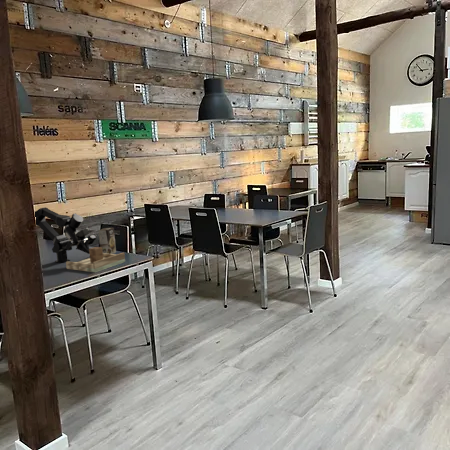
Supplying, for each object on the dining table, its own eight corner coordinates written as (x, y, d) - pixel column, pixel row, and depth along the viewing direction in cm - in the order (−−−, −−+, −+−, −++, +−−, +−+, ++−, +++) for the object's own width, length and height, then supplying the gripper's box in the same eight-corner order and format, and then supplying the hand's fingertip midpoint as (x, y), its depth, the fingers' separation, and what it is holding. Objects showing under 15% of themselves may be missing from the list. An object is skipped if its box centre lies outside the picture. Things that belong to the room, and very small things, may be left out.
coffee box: (110, 255, 279) (107, 230, 277) (100, 255, 281) (97, 230, 278) (116, 252, 288) (114, 227, 286) (107, 252, 290) (104, 227, 287)
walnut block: (90, 262, 256) (89, 248, 254) (97, 260, 260) (95, 246, 259) (96, 263, 253) (95, 249, 252) (103, 261, 257) (102, 247, 256)
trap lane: (66, 268, 253) (65, 259, 252) (97, 258, 273) (96, 250, 272) (95, 272, 242) (94, 262, 241) (125, 261, 261) (124, 252, 260)
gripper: (66, 227, 250) (83, 247, 247) (92, 221, 266) (107, 240, 262) (58, 240, 256) (74, 260, 252) (84, 233, 271) (99, 253, 268)
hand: (89, 253), depth 258 cm, fingers closed
